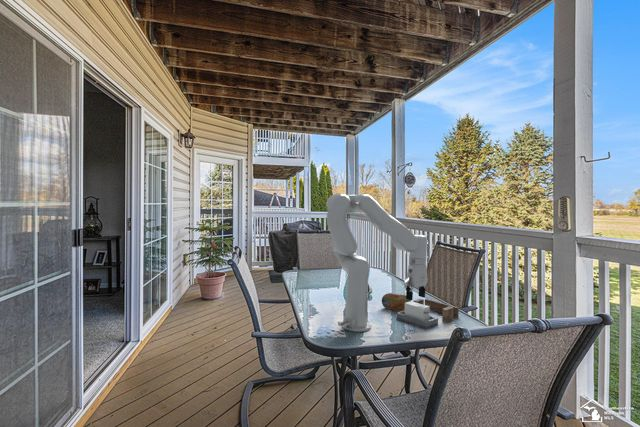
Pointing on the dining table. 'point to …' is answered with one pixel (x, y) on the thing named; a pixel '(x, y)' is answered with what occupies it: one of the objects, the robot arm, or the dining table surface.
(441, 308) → the bay
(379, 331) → the dining table surface
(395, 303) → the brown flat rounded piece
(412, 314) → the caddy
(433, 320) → the tray
